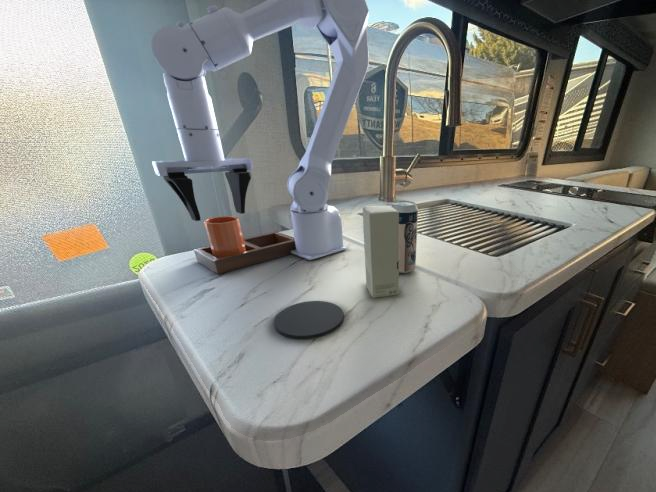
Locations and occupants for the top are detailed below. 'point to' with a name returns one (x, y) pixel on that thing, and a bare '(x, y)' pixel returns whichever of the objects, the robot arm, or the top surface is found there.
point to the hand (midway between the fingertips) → (219, 216)
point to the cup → (224, 236)
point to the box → (381, 250)
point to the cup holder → (248, 252)
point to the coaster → (308, 319)
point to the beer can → (407, 234)
